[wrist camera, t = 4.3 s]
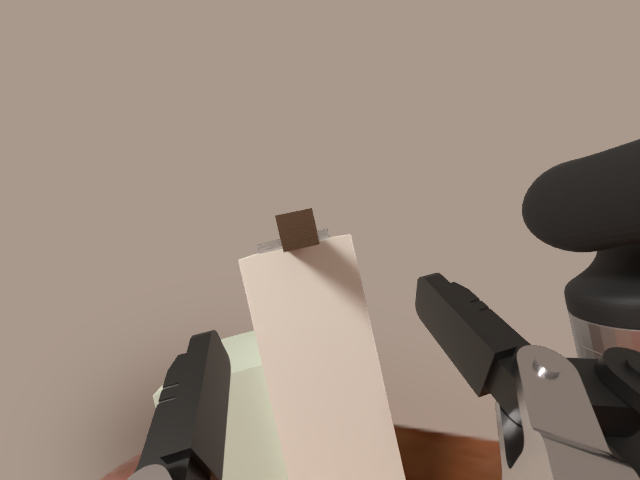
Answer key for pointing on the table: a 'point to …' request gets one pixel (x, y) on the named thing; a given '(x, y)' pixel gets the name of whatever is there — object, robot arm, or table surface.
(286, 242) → the turner
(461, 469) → the table surface
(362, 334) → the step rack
